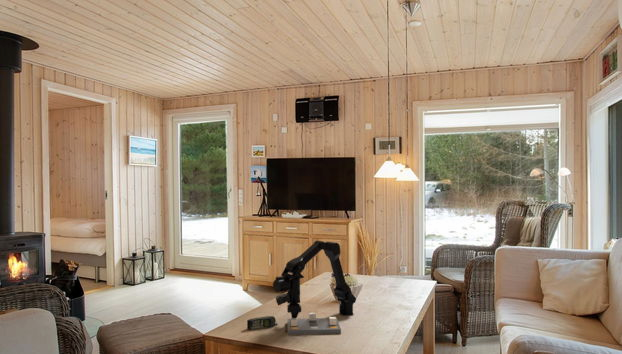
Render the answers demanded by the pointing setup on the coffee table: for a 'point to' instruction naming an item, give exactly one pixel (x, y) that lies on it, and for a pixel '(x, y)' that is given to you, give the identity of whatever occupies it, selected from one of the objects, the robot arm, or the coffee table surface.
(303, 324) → the switch plate
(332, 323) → the tab
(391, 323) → the coffee table surface
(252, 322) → the mobile phone
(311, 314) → the tab middle
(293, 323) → the tab
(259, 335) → the coffee table surface
